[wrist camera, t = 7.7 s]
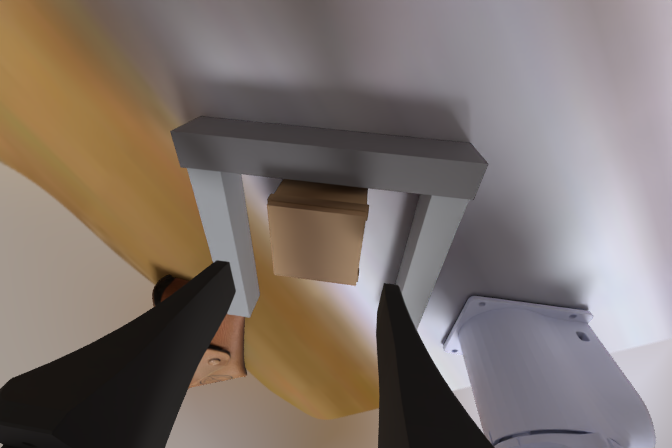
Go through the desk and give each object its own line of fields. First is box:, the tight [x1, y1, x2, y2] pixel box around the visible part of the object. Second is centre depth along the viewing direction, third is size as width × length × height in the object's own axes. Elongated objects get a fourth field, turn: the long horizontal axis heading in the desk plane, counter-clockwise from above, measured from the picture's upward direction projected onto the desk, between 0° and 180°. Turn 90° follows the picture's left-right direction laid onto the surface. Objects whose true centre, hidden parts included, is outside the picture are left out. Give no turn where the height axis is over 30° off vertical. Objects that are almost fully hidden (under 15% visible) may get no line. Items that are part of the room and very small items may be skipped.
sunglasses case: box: [152, 275, 247, 389], centre depth 30 cm, size 18×7×7 cm, turn 169°
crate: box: [267, 179, 369, 286], centre depth 17 cm, size 5×5×5 cm
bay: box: [170, 116, 488, 330], centre depth 19 cm, size 16×16×3 cm
